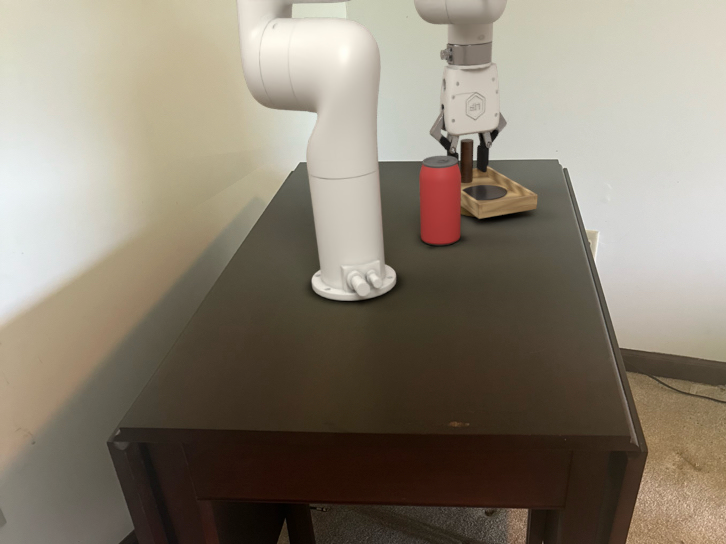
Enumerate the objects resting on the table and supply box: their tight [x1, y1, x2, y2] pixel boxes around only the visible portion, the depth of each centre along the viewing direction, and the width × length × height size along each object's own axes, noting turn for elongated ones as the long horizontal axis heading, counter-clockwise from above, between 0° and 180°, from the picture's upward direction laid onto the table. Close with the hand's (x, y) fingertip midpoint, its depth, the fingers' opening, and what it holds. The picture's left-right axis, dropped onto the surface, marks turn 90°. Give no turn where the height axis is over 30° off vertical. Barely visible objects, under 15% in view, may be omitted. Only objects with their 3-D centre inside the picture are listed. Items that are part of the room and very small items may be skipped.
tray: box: [459, 138, 538, 220], centre depth 120 cm, size 20×11×8 cm, turn 20°
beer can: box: [418, 155, 462, 247], centre depth 108 cm, size 7×7×12 cm
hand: (467, 171), depth 126 cm, fingers open, 5 cm apart
